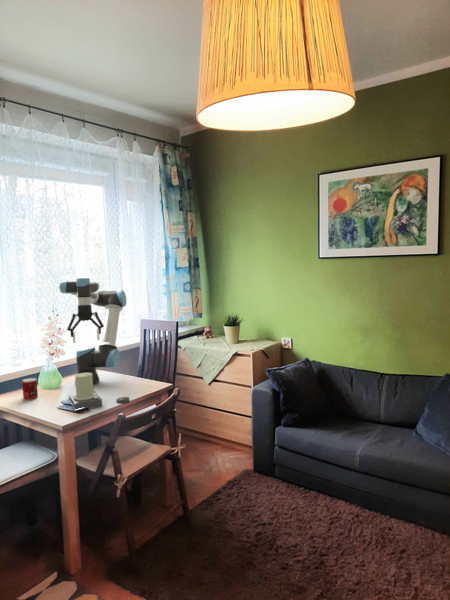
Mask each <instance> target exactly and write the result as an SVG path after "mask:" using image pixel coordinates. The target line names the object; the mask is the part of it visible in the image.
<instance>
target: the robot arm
mask: <svg viewBox="0 0 450 600" xmlns="http://www.w3.org/2000/svg"><path fill="white" fill-rule="evenodd" d="M58 288H59V289H58V290H59V291H60V293H61V294H65V295H67V294H70V295H72V296H75V297H76V302H77V303H76V304H77V313H72V314H71V319H70V321H69V323H68V325H67V327H66V330H67V331H68V332H69V331H70V337H71V338H72V343H74V344H75V343H76V333H75V329H76V328H77V326H78V325H79V324H80V322H81V321H82V322H85V321H90V322H91V323H92V324H94V325H95V326H96V339H97V341H100V335H101V333H103V334H102V340H101V344H98V345H99V346H98V348H97V349H96V347H95V346H87V347H83V348H80V349H78V350H76V354H75V356H76V357H75V358H76V359H75V360H76V371H77V373H76V375H77V374H80V373H92V379H93V386H95V385H97V384H100V377H99V374H98V372H97V368H107V369H109V368H115V367H116V366H117V365H118V363H119V361H120V351H119V349H118V346H117V345H116V343H117V342H116V341H117V336H118V328H119V327H118V326H119V320H120V314H121V313H120V312H122V311H123V309H124V307H126V306H127V303H128V302H127V296H126V293H125V290H123V289H100V284H99V282H98V281H97V280H95V279H90V277H87V276H86V277H77V278H76V280H62V281H61V282H60V283H59V287H58ZM92 305H93V306H97V307H103V308H104V309H105V311H106V312H105V313H106V314H105V321H104V324H103V322H102V319H100V317H99V314H98V312H97V311H94V312H92ZM93 316H94V317H95V319H96V320H94V319H93V318H92V317H93ZM77 317H78V319H77V320H76V319H75V318H77ZM75 320H76V322H75V323H74V321H75ZM96 321H97V322H96ZM102 329H103V332H102ZM74 385H75V386H76V380H74Z"/></svg>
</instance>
